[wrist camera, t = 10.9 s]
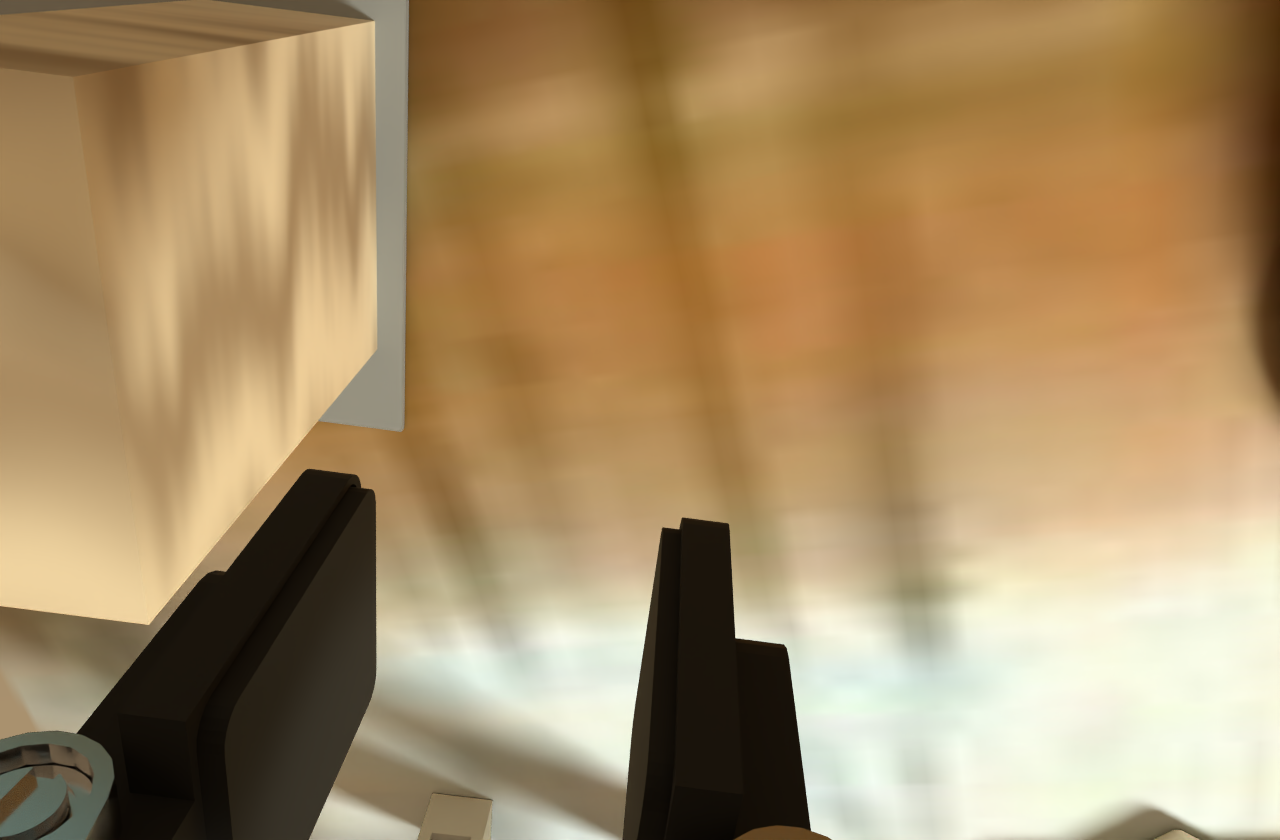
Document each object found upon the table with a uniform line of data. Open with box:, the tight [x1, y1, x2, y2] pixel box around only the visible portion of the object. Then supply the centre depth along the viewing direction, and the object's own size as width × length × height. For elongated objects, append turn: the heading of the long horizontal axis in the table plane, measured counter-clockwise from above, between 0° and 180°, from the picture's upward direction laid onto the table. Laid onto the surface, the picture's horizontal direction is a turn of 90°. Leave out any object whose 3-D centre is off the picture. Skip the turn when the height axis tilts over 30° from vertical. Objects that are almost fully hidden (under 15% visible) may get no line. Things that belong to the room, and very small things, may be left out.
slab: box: [0, 0, 377, 625], centre depth 20 cm, size 9×4×13 cm, turn 174°
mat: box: [0, 0, 409, 432], centre depth 26 cm, size 14×14×1 cm
